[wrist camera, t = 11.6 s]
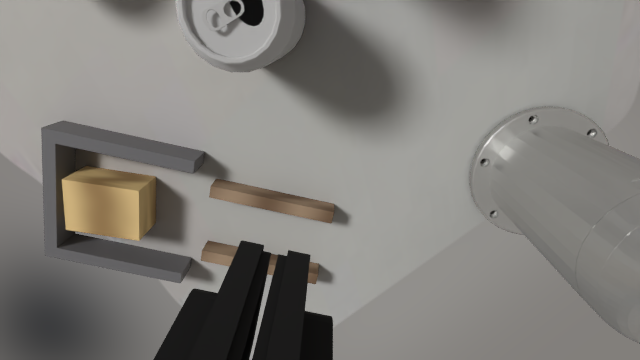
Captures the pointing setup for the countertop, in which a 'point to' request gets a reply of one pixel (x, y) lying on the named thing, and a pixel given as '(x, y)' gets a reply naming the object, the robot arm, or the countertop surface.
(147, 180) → the ochre block
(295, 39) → the can
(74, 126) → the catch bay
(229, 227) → the countertop surface
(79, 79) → the countertop surface
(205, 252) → the chute
